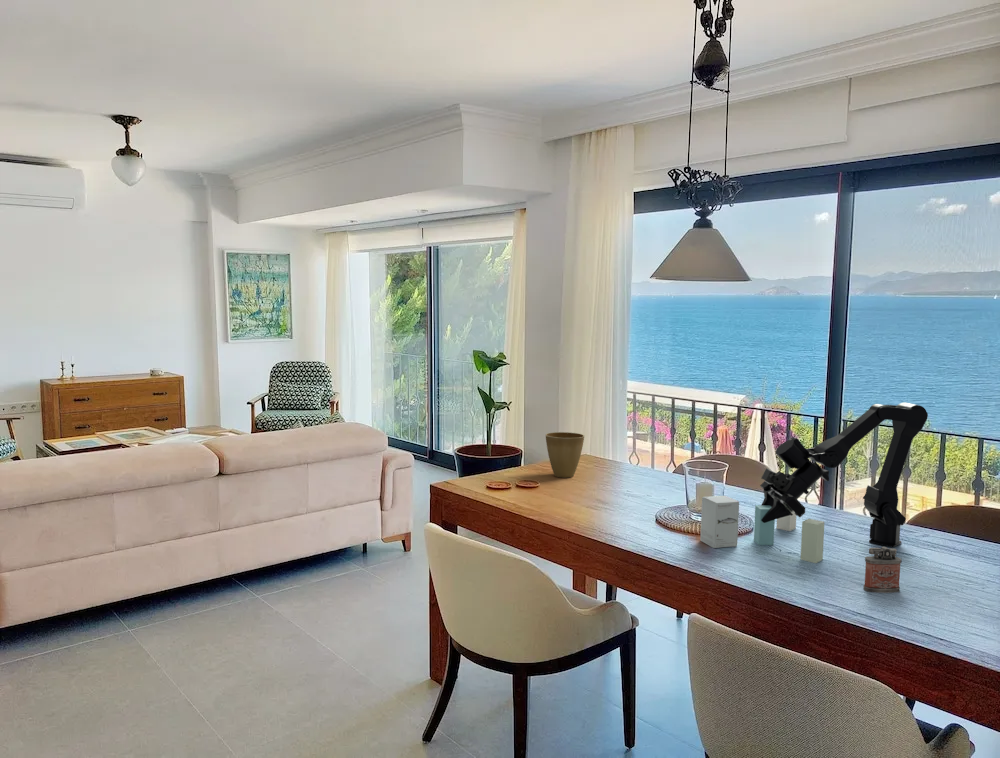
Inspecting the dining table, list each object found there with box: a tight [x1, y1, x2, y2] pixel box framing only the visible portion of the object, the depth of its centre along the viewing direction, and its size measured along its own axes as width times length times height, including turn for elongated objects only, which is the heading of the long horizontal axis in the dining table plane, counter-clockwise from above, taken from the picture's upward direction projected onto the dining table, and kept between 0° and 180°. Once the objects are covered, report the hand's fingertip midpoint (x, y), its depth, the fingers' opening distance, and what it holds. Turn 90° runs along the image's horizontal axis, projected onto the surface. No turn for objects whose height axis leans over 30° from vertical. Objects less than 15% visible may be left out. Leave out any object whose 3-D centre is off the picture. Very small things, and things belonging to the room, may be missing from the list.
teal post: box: [753, 504, 776, 546], centre depth 203 cm, size 4×4×10 cm
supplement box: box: [699, 495, 740, 549], centre depth 202 cm, size 7×7×13 cm
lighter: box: [863, 546, 902, 594], centre depth 169 cm, size 8×3×10 cm, turn 92°
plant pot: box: [545, 431, 585, 479], centre depth 284 cm, size 15×15×16 cm
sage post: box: [800, 518, 825, 564], centre depth 190 cm, size 4×4×10 cm
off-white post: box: [776, 511, 797, 532], centre depth 217 cm, size 4×4×10 cm
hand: (759, 519), depth 203 cm, fingers closed on teal post, 4 cm apart
